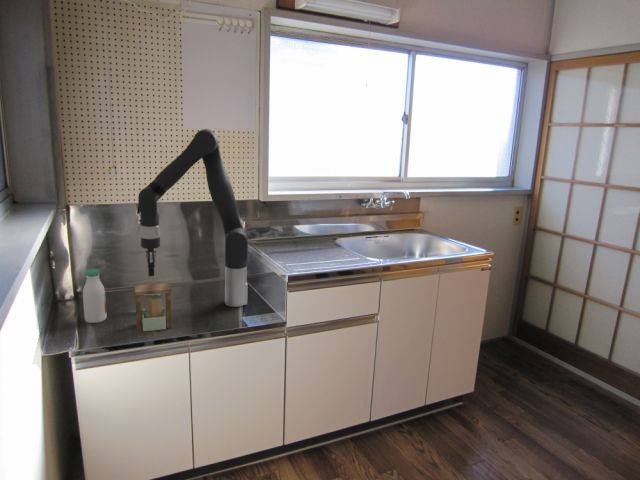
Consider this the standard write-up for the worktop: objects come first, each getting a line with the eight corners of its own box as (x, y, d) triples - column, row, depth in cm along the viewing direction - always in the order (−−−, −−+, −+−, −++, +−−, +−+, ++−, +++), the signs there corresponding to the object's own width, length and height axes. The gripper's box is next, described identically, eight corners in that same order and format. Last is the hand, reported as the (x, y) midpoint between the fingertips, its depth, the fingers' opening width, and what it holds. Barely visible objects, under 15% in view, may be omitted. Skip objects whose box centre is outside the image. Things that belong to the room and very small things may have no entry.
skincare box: (144, 324, 176) (143, 295, 173) (155, 321, 179) (154, 292, 176) (153, 330, 172) (151, 300, 169) (163, 327, 175) (162, 297, 172)
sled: (163, 307, 192) (162, 290, 190) (165, 329, 173) (165, 311, 171) (142, 309, 189) (141, 292, 187) (142, 331, 170) (142, 313, 168)
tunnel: (170, 320, 181) (169, 283, 177) (171, 328, 175) (170, 289, 171) (136, 323, 176) (135, 285, 172) (136, 331, 170) (134, 292, 166)
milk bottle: (103, 323, 175) (100, 274, 170) (81, 323, 174) (77, 273, 168) (109, 315, 182) (106, 267, 177) (88, 315, 181) (84, 267, 176)
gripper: (160, 239, 183) (161, 280, 187) (159, 231, 195) (160, 270, 199) (140, 240, 180) (141, 281, 185) (140, 231, 192) (141, 271, 196)
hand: (151, 275), depth 192 cm, fingers closed
